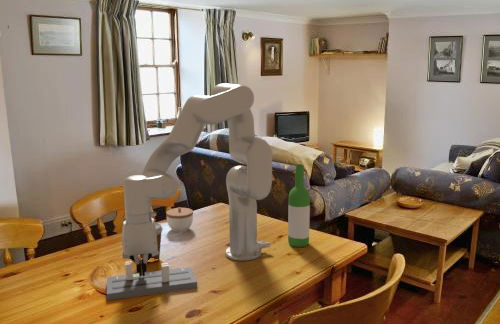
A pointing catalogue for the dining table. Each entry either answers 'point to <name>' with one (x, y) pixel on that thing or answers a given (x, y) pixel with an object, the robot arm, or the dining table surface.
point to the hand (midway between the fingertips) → (141, 274)
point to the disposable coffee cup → (158, 231)
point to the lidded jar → (179, 219)
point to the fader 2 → (165, 272)
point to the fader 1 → (129, 270)
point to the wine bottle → (299, 211)
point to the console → (150, 283)
